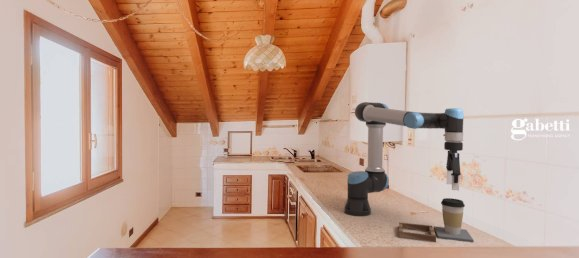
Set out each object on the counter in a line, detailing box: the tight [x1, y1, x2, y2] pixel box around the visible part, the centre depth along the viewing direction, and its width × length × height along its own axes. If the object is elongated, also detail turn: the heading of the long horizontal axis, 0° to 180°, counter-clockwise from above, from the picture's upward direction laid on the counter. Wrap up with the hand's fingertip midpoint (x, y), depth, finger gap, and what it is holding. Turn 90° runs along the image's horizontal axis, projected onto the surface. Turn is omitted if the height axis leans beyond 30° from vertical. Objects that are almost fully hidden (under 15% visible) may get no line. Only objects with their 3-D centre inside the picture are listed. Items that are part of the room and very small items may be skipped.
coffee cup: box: [440, 197, 466, 235], centre depth 140 cm, size 10×10×15 cm
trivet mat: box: [433, 226, 474, 243], centre depth 140 cm, size 14×14×1 cm
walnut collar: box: [398, 222, 437, 243], centre depth 141 cm, size 15×15×2 cm
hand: (452, 187), depth 140 cm, fingers open, 13 cm apart
